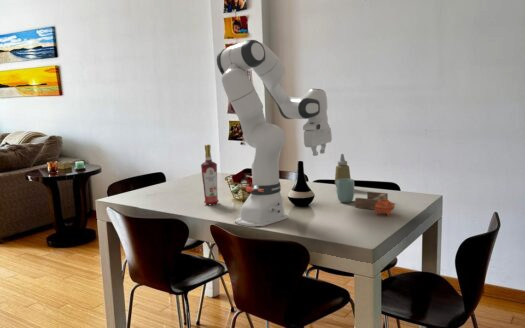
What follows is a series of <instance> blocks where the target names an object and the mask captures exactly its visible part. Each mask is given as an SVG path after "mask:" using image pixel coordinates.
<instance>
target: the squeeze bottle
mask: <svg viewBox="0 0 525 328" xmlns="http://www.w3.org/2000/svg"><path fill="white" fill-rule="evenodd" d="M338 179H352V178H351V171H350V165H348V161H347V160H346V159H345V154H344V153H341V154H340V157H339V160H338V161H337V165H336V166H335V175H334V184H335V187H336V189H337V180H338Z"/></svg>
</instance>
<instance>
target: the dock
mask: <svg viewBox="0 0 525 328" xmlns="http://www.w3.org/2000/svg"><path fill="white" fill-rule="evenodd" d="M366 194H367V196H366V197H367V198H363V197H355V198H354V199H355V200H354V201H355V202H354V204H355V208H358V209H366V210H367V209H368V210H375V208H374V206H375V204H376V203H377V202H379V201H380V200H389V198H388V197H389V195H388V193H387V192H379V191H378V192H377V191H367V193H366Z"/></svg>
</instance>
